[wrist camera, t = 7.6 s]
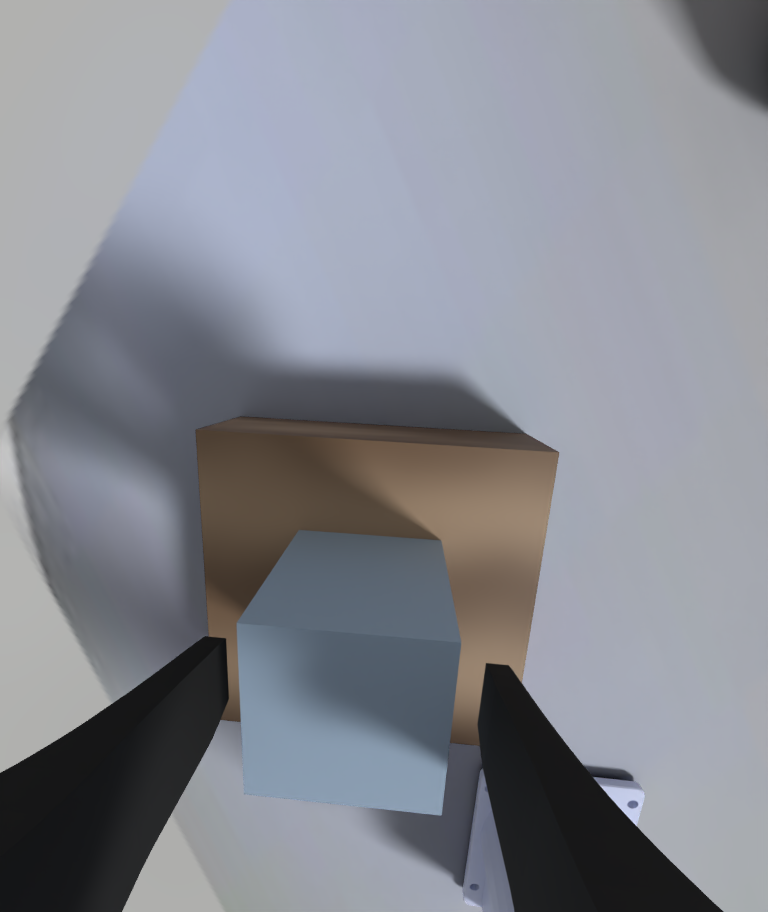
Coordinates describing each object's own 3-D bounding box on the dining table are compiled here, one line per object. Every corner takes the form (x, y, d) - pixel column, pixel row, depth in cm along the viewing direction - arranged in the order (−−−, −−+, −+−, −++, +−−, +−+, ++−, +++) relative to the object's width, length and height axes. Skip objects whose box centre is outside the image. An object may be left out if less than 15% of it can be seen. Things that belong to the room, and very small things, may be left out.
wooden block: (489, 670, 19) (511, 748, 15) (252, 648, 19) (214, 718, 16) (522, 431, 16) (559, 452, 12) (245, 415, 17) (195, 429, 13)
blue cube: (429, 662, 14) (441, 815, 9) (299, 650, 14) (243, 793, 10) (441, 540, 13) (461, 642, 8) (298, 529, 13) (236, 623, 8)
